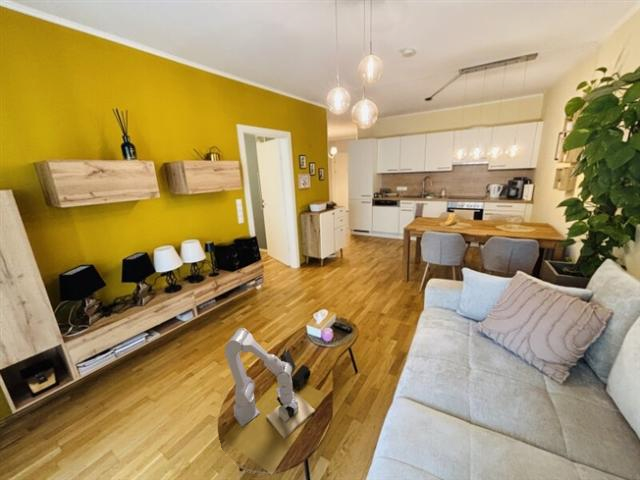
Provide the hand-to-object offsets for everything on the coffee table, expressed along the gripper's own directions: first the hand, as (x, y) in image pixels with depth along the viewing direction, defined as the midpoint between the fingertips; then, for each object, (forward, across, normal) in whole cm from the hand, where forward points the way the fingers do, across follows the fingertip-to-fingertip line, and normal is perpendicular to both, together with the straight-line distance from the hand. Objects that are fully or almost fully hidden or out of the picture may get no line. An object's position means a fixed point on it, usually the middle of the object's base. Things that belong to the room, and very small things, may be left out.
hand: (288, 412), depth 121 cm
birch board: (+2, 0, -1) cm, 3 cm away
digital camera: (+3, +10, -17) cm, 20 cm away
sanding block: (+1, 0, 0) cm, 1 cm away
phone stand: (+2, +25, -18) cm, 31 cm away
